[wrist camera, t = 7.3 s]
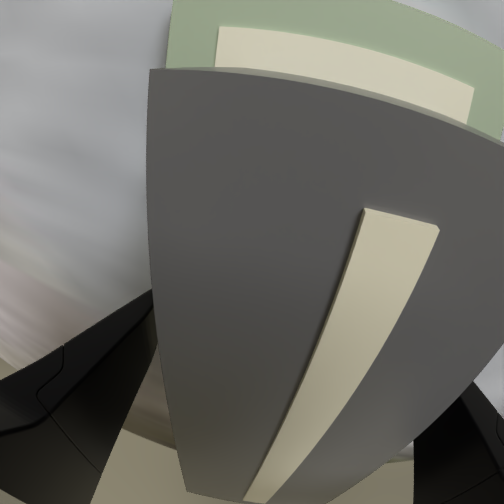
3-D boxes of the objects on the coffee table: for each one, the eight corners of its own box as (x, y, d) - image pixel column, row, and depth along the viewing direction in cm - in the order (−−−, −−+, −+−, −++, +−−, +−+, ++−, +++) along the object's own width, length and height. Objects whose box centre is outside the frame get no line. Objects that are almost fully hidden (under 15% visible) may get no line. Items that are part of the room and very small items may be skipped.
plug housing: (445, 115, 6) (588, 197, 2) (320, 412, 13) (313, 512, 9) (245, 67, 7) (144, 69, 2) (213, 394, 14) (186, 493, 9)
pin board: (490, 56, 6) (589, 69, 2) (341, 412, 16) (341, 484, 12) (196, -13, 7) (115, -59, 3) (183, 384, 17) (159, 454, 13)
